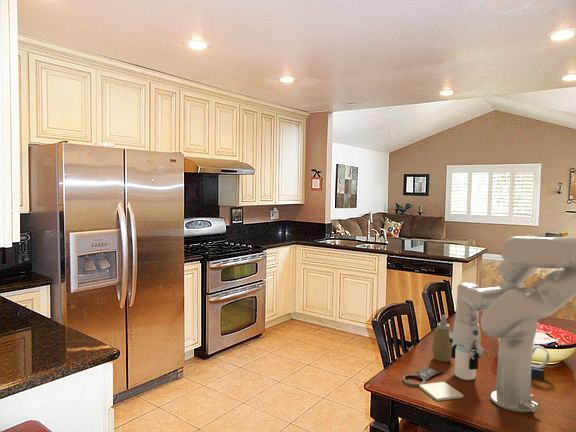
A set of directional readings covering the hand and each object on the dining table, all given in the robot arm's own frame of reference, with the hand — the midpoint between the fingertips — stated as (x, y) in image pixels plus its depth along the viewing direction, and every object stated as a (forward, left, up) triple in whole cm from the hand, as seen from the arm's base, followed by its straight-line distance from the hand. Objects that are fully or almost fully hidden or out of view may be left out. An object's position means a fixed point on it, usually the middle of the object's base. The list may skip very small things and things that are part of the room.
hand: (464, 363), depth 154 cm
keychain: (+3, +15, -6) cm, 17 cm away
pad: (-9, +16, -5) cm, 19 cm away
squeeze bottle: (+15, -2, -5) cm, 16 cm away
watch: (-6, -27, -5) cm, 28 cm away
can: (-1, 0, -5) cm, 5 cm away
